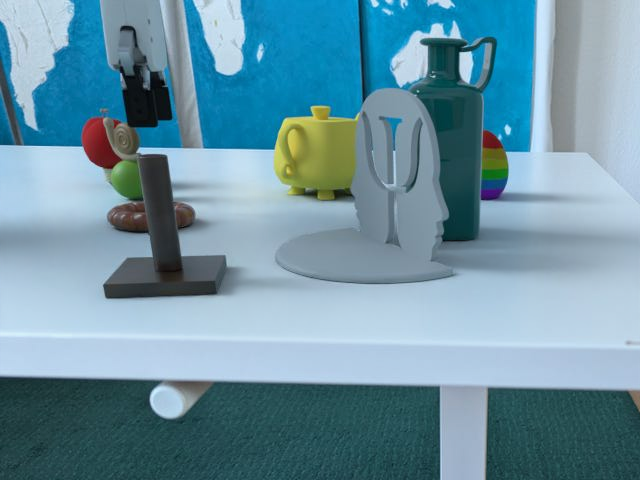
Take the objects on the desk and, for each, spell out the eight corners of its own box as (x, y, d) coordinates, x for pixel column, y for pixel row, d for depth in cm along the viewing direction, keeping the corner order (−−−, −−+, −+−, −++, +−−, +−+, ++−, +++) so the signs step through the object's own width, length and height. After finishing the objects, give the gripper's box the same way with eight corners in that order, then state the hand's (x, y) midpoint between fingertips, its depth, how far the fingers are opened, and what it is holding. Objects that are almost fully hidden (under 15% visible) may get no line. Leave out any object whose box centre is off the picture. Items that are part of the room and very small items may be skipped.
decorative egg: (451, 199, 108) (452, 130, 104) (459, 190, 115) (460, 126, 111) (505, 202, 107) (508, 133, 103) (509, 193, 114) (512, 128, 110)
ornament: (457, 275, 70) (460, 94, 63) (334, 296, 62) (324, 93, 55) (351, 231, 85) (345, 83, 79) (243, 245, 78) (227, 82, 71)
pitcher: (409, 241, 82) (408, 32, 73) (405, 225, 89) (403, 35, 81) (492, 240, 83) (500, 36, 75) (481, 225, 91) (487, 38, 82)
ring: (100, 234, 81) (97, 215, 80) (120, 217, 89) (117, 199, 88) (189, 232, 83) (187, 213, 82) (200, 216, 91) (198, 198, 90)
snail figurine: (133, 193, 104) (119, 107, 100) (164, 198, 102) (151, 110, 97) (101, 199, 100) (84, 109, 95) (132, 203, 97) (117, 112, 93)
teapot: (251, 195, 106) (242, 105, 101) (342, 180, 122) (338, 101, 117) (318, 206, 99) (313, 110, 94) (405, 189, 115) (404, 106, 110)
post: (105, 298, 60) (79, 162, 56) (129, 269, 68) (108, 149, 64) (216, 293, 62) (200, 162, 57) (227, 266, 70) (213, 149, 66)
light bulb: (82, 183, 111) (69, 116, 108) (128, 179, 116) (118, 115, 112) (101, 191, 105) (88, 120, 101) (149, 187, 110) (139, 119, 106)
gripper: (109, -31, 85) (134, 117, 92) (66, -51, 70) (99, 130, 77) (175, -28, 87) (194, 118, 94) (147, -46, 72) (172, 130, 78)
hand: (151, 123), depth 85 cm, fingers open, 9 cm apart
